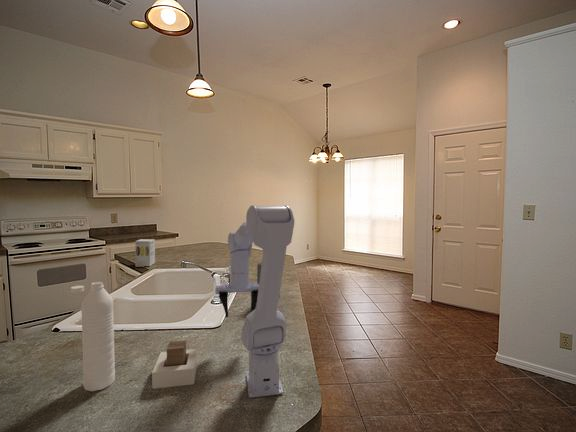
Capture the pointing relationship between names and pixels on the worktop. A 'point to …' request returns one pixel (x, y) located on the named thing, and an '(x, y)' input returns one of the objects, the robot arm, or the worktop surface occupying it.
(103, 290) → the water bottle
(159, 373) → the ceramic well
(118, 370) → the worktop surface
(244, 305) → the worktop surface
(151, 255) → the supplement box
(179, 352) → the walnut peg
